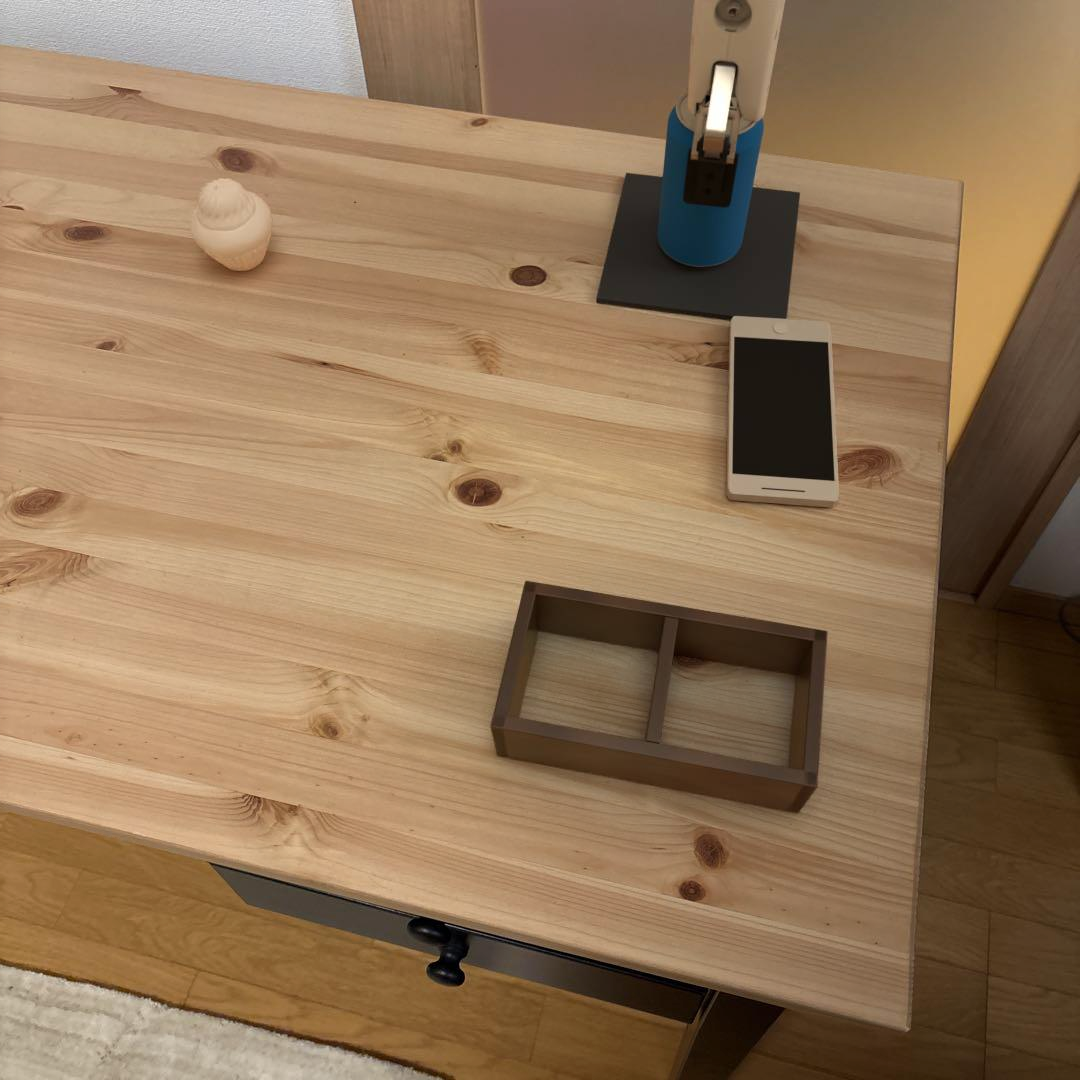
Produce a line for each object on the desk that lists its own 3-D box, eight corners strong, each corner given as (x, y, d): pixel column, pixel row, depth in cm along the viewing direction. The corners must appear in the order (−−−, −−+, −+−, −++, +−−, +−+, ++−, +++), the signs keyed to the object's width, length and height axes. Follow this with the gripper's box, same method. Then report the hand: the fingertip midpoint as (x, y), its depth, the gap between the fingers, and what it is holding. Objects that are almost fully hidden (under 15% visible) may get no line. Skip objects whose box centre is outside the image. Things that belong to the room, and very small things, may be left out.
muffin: (219, 226, 80) (190, 153, 74) (292, 232, 80) (269, 159, 74) (194, 282, 77) (161, 210, 71) (270, 289, 77) (244, 218, 71)
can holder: (809, 665, 60) (828, 630, 56) (798, 813, 55) (817, 787, 51) (528, 617, 62) (525, 579, 58) (496, 756, 58) (490, 726, 53)
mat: (798, 197, 80) (800, 192, 80) (784, 327, 73) (786, 322, 73) (625, 177, 82) (626, 172, 81) (596, 303, 75) (596, 298, 75)
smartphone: (828, 329, 73) (831, 320, 72) (836, 508, 65) (840, 500, 64) (729, 323, 73) (730, 314, 73) (726, 500, 66) (727, 492, 65)
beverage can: (728, 208, 79) (751, 70, 69) (751, 267, 76) (779, 131, 65) (648, 220, 78) (659, 83, 68) (667, 279, 75) (682, 145, 65)
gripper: (809, -8, 51) (757, 249, 65) (829, -178, 59) (779, 83, 74) (662, -20, 52) (643, 235, 66) (702, -186, 60) (677, 73, 75)
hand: (714, 155), depth 70 cm, fingers open, 9 cm apart
